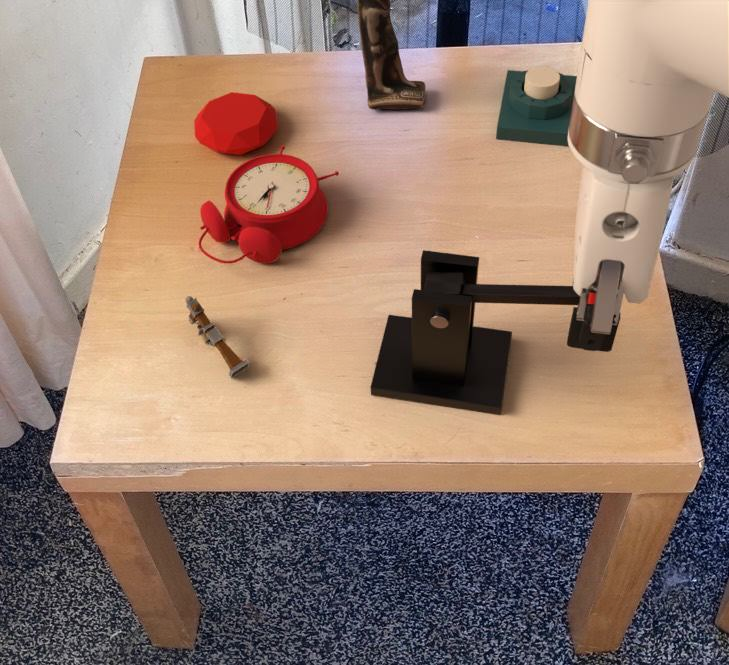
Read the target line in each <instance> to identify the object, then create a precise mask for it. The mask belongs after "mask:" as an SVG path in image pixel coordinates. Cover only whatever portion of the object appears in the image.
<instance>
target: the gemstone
mask: <svg viewBox="0 0 729 665" xmlns="http://www.w3.org/2000/svg"><path fill="white" fill-rule="evenodd" d="M276 110H277V109H276V108H275V107H274V106H273V105H272V104H271V103H270V102H268V101H266V100H265V99H263V98H261V97H259V96H258V95H256V94H250V93H241V92H232V91H231V92H229V93H226V94H224V95H223V94H222V95H221V96H219V97H216V98H214V99H210V100H208V102H207V103H206V104H205V105H204V106H203V108H202V109H201V110H200V111H199V112H198V113H197V115H196V117H195V119H194V121H193V123H194V126H193V127H194V137H195V140H197V141H198V143H199V144H200V145H202V146H203V147H206V148H208V149H210V150H212V151H214V152H216V153H218V154H219V153H220V154H228V155H236V156H243V155H245V154H246V153H249V152H252V151H255V150H256V149H258V148H261V147H263V146H264V145H265V144H266V143H267V142H268V141H269V140H270V139H271V138H272V136H274V135H275V133H276V132H277V129H278V128H279V123H278V117H277V111H276Z"/></svg>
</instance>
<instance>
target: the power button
mask: <svg viewBox="0 0 729 665" xmlns="http://www.w3.org/2000/svg"><path fill="white" fill-rule="evenodd" d="M527 70H528V71H527ZM527 70H526V71H527V73H526V76H525V85H524V91H525V93H526V95H528V96H530V97H532V98H534V99H543V100H545V99H549V98H553V97H554V96H556V94H557V93H558V88H559V82H560V75H559V73H560V72H559V71H557V69H555V68H554V67H550V66H546V65H539V66H538V65H537V66H533V67H532V68H529V69H527ZM558 72H559V73H558Z"/></svg>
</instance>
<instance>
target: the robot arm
mask: <svg viewBox="0 0 729 665" xmlns="http://www.w3.org/2000/svg"><path fill="white" fill-rule="evenodd" d="M577 66H578V67H577V74H576V76H577V80H576V87H575V92H574V99H573V105H572V112H571V118H570V125H569V130H568V145H569V146H568V148H569V150H570V152H571V154H572V156H573V157H574V158H575V160H576V161H577V162H579V164H580V165H582V169H581V176H580V183H579V188H578V196H577V204H576V215H575V227H574V247H573V248H574V250H573V277H572V286H573V289H574V291H575V292H576V293H577V294H578V295H579V296H580V297H579V303H578V305H577V306H573V308H572V314H571V318H570V323H569V329H568V333H567V339H566V346H568V348H572V349H580V350H584V351H588V352H590V351H591V352H604V353H608V352H611V351H612V350H613V347H614V346H613V345H614V342H615V340H616V336H617V331H618V328H619V324H620V320H621V308H622V303H623V299H624V296H625V299H626V301H627V303H628V304H629V303H630V304H642V303H644V302H645V301H646V300H647V299H648V296H649V294H650V289H651V283H652V280H653V275H654V271H655V267H656V264H657V259H658V255H659V251H660V247H661V243H662V240H663V234H664V230H665V226H666V222H667V221H666V220H667V217H668V211H669V207H670V202H671V196H672V191H673V185H674V184H673V183H674V178H675V176H677V175H679V174H681V173H682V172H684V171H685V170H686V169H687V168H688V167H689V166H690V165H691V164H692V162H693V161H694V159H695V156H696V153H697V150H698V147H699V144H700V141H701V137H702V134H703V131H704V127H705V125H706V122H707V118H708V114H709V112H710V108H711V105H712V102H713V99H714V95H715V92H716V93H718V94H720V95H722V96H723V97H725V98H728V99H729V0H587V7H586V13H585V21H584V26H583V33H582V39H581V46H580V54H579V60H578V65H577ZM597 276H598V277H597ZM589 292H590V293H596V296H595V302H594V304H587V303H588V297H589Z"/></svg>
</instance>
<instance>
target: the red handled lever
mask: <svg viewBox="0 0 729 665" xmlns="http://www.w3.org/2000/svg"><path fill="white" fill-rule="evenodd" d="M597 277H598V276H597ZM424 290H425V291H433V292H441V293H448V294H456V295H463V296H471V297H472V303H475V304H508V305H511V304H512V305H544V306H545V305H550V306H551V305H552V306H578V303H579V297H580V296H579V295H578V294H577V293H576V292H575V291H574V289H573V285H548V284H547V285H545V284H544V285H543V284H541V285H540V284H492V283H477V284H465V280H464V274H463V272H428V274H427V278H426V283H425V287H424ZM595 296H596V293H590V292H589V297H588V303H587V304H594V302H595Z"/></svg>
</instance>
